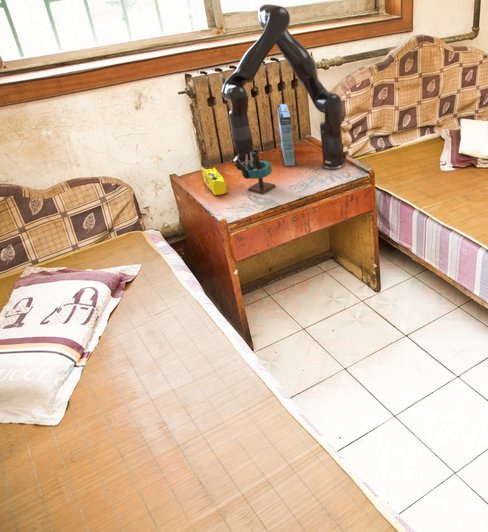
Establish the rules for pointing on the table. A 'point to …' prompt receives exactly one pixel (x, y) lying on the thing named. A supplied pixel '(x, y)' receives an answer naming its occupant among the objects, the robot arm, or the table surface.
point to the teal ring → (260, 170)
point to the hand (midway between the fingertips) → (249, 176)
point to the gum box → (286, 134)
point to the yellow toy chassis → (214, 181)
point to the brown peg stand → (260, 182)
